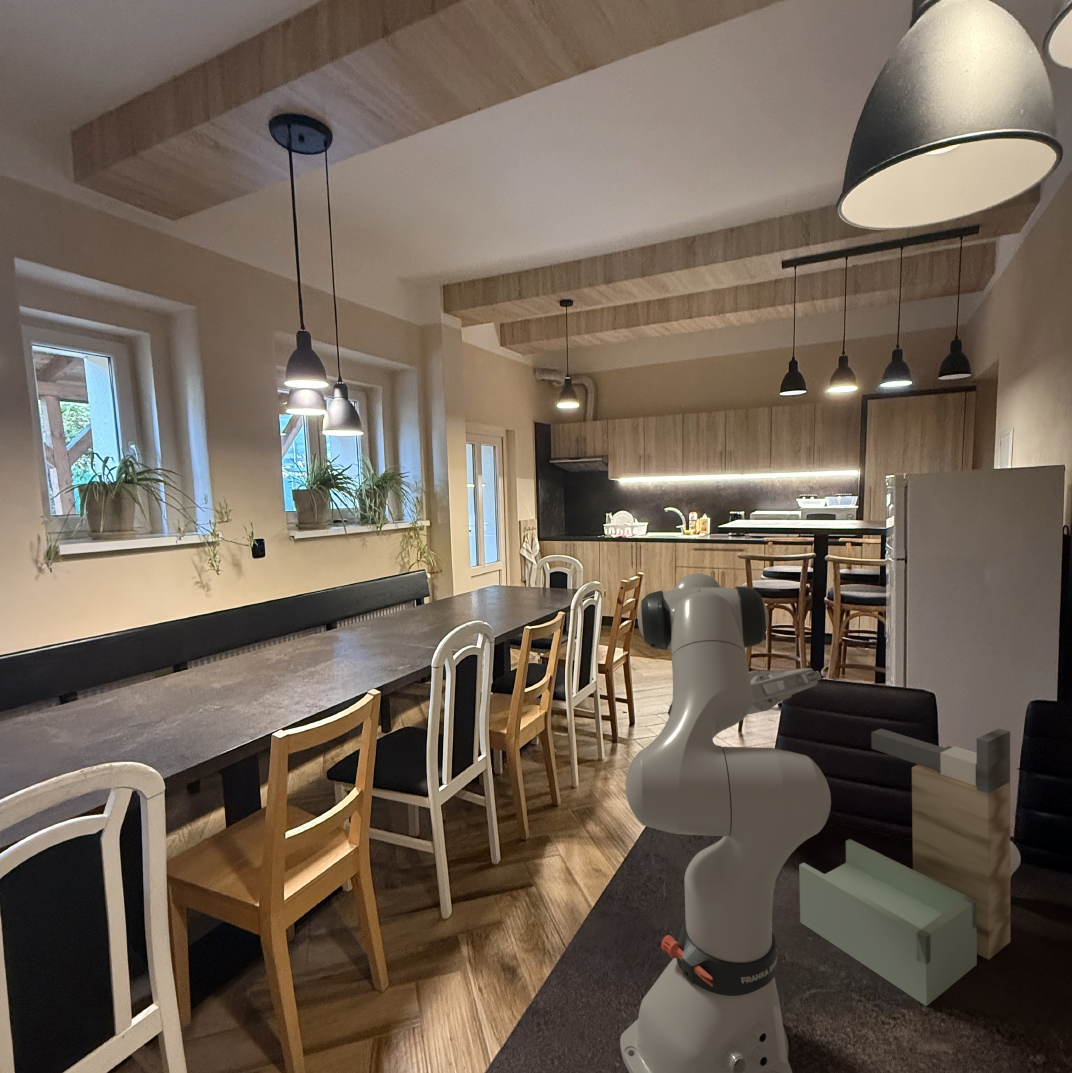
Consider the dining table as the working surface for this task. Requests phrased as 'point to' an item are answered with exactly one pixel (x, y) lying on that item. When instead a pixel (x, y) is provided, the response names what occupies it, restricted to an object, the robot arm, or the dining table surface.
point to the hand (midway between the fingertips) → (802, 679)
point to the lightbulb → (1014, 858)
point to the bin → (892, 920)
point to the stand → (969, 836)
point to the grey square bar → (928, 755)
